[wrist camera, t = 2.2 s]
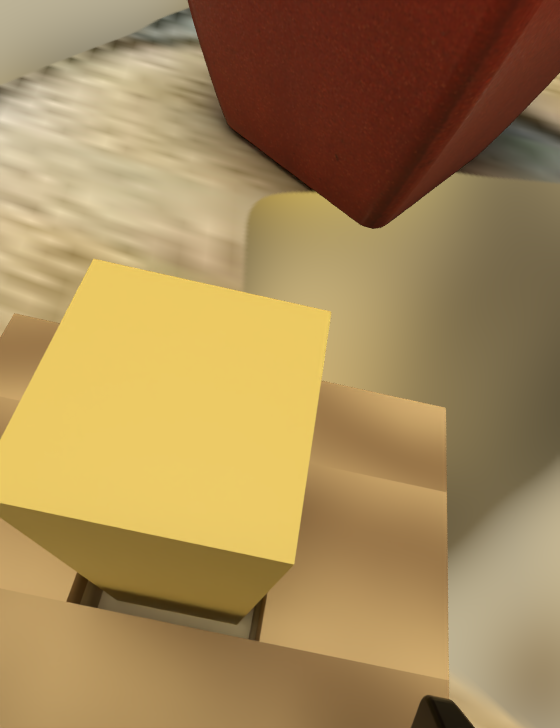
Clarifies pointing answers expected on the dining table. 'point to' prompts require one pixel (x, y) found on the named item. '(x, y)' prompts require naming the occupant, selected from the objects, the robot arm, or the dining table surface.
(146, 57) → the dining table surface
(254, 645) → the tan flat piece
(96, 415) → the yellow block
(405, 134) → the plant pot
